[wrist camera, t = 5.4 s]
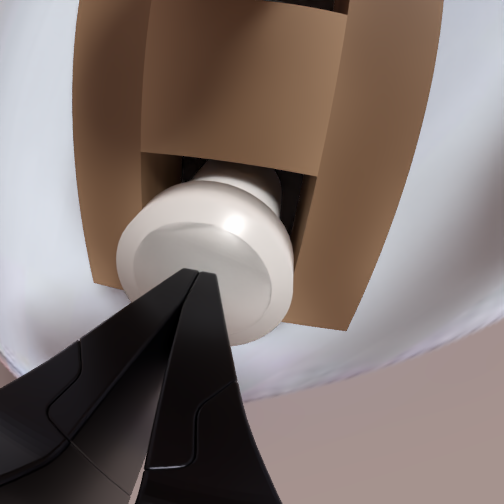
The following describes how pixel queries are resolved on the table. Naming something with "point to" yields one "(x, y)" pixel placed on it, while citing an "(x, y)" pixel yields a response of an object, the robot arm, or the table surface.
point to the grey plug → (217, 244)
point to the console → (256, 120)
